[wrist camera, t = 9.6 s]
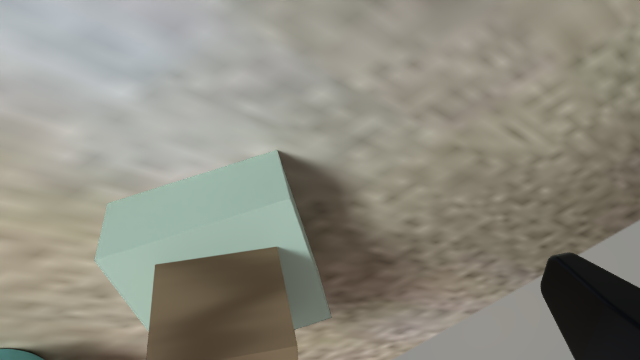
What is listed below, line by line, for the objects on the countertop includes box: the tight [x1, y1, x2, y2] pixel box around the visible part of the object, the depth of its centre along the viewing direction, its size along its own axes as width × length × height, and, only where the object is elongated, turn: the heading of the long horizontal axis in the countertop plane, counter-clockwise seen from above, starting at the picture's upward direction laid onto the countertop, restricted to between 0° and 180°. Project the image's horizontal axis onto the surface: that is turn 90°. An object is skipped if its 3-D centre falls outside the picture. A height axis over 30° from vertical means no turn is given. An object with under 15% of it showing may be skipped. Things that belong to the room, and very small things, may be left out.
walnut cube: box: [146, 247, 298, 360], centre depth 19 cm, size 5×5×5 cm
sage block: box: [94, 150, 332, 331], centre depth 23 cm, size 8×8×4 cm
